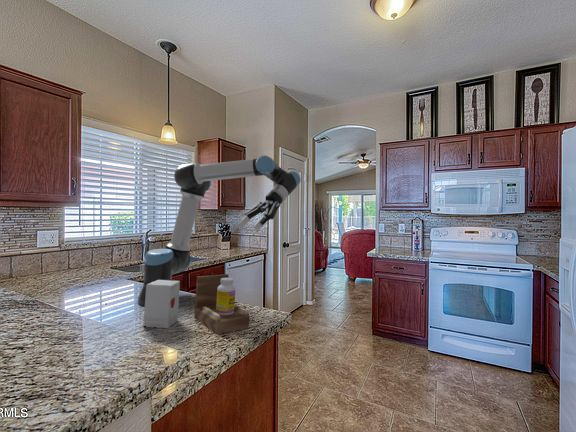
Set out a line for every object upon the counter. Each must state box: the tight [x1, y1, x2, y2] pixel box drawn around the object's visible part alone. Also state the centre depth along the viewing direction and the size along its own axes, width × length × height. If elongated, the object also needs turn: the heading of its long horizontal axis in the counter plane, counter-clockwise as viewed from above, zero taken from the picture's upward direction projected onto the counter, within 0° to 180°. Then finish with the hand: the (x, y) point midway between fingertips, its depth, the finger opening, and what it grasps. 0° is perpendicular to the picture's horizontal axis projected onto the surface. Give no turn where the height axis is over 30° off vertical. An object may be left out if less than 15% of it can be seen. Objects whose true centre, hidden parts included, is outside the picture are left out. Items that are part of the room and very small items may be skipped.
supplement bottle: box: [216, 277, 237, 316], centre depth 108 cm, size 7×7×13 cm
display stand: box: [193, 273, 251, 335], centre depth 110 cm, size 20×13×16 cm, turn 39°
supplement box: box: [142, 280, 181, 329], centre depth 105 cm, size 9×9×15 cm
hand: (246, 228), depth 124 cm, fingers open, 13 cm apart
